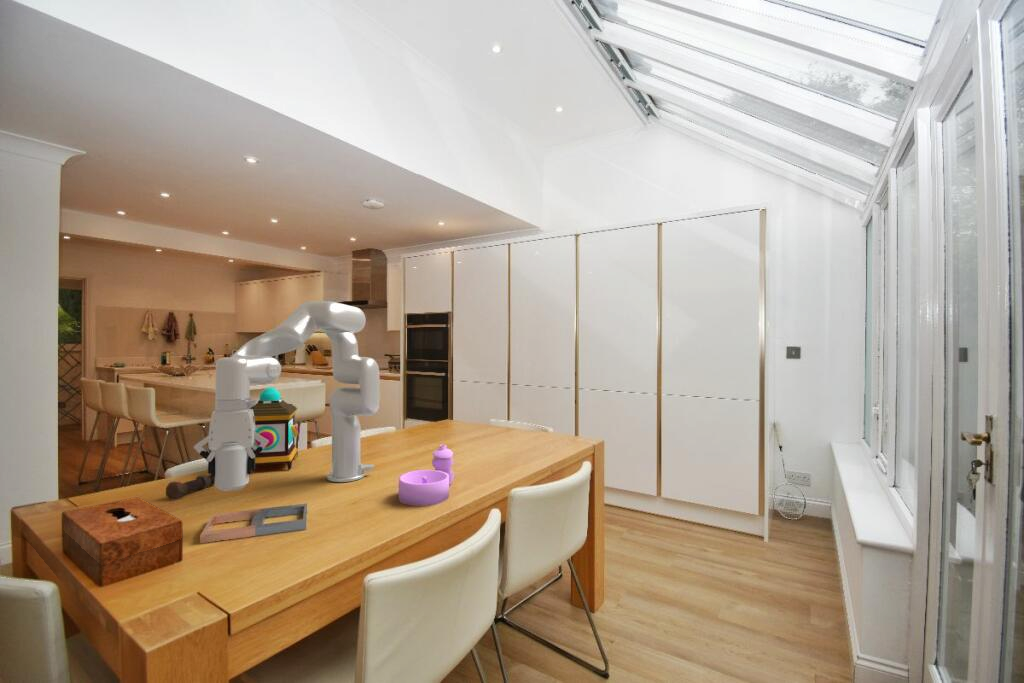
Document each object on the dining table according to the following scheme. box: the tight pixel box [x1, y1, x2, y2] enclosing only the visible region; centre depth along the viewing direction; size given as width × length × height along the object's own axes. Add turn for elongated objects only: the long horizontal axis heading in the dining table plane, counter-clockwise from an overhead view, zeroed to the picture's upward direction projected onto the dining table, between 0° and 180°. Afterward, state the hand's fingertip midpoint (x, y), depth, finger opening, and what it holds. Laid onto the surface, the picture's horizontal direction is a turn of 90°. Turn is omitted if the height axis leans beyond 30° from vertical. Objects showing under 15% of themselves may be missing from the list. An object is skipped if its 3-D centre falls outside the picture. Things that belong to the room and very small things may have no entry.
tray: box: [199, 503, 308, 544], centre depth 122 cm, size 23×14×2 cm, turn 113°
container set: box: [398, 444, 455, 507], centre depth 149 cm, size 25×15×13 cm, turn 164°
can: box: [214, 442, 250, 492], centre depth 119 cm, size 8×8×12 cm
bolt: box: [165, 474, 215, 500], centre depth 147 cm, size 6×5×15 cm
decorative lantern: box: [250, 386, 299, 471], centre depth 177 cm, size 20×20×30 cm
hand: (232, 474), depth 119 cm, fingers closed on can, 7 cm apart
